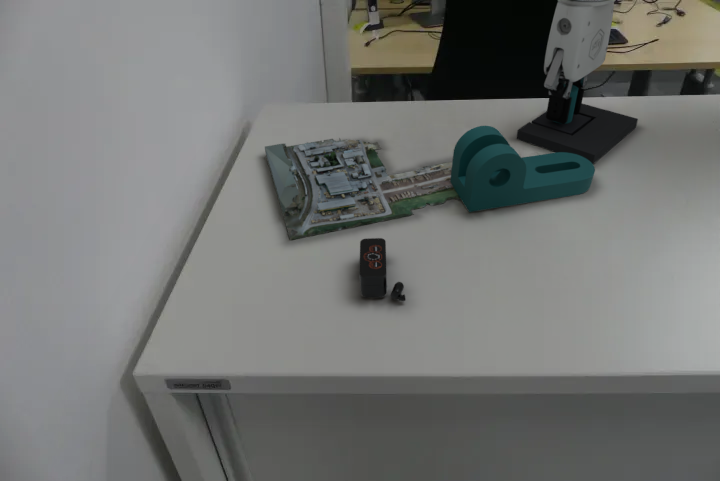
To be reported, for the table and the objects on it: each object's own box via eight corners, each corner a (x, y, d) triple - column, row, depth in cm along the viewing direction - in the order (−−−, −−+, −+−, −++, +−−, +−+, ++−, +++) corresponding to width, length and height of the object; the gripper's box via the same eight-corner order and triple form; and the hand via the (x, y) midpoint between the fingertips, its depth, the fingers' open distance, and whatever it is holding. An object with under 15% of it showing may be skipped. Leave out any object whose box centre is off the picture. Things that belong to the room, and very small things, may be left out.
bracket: (469, 212, 69) (476, 157, 64) (450, 181, 74) (455, 129, 69) (600, 191, 72) (617, 137, 67) (574, 163, 77) (588, 111, 72)
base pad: (562, 106, 92) (564, 98, 91) (635, 127, 85) (638, 118, 84) (516, 138, 84) (517, 129, 83) (592, 164, 77) (594, 155, 76)
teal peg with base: (551, 115, 89) (558, 76, 85) (589, 126, 86) (598, 86, 82) (530, 129, 86) (536, 89, 82) (569, 142, 82) (577, 101, 78)
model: (517, 193, 73) (519, 182, 72) (290, 240, 67) (288, 229, 66) (453, 123, 89) (454, 113, 88) (266, 156, 84) (264, 146, 83)
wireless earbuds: (360, 305, 58) (359, 282, 56) (361, 261, 64) (360, 238, 62) (405, 304, 58) (405, 281, 56) (402, 259, 63) (402, 237, 61)
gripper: (584, 6, 67) (558, 144, 78) (642, -23, 76) (610, 104, 87) (528, -4, 71) (511, 128, 82) (589, -30, 80) (566, 92, 91)
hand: (562, 115), depth 84 cm, fingers closed on teal peg with base, 3 cm apart
